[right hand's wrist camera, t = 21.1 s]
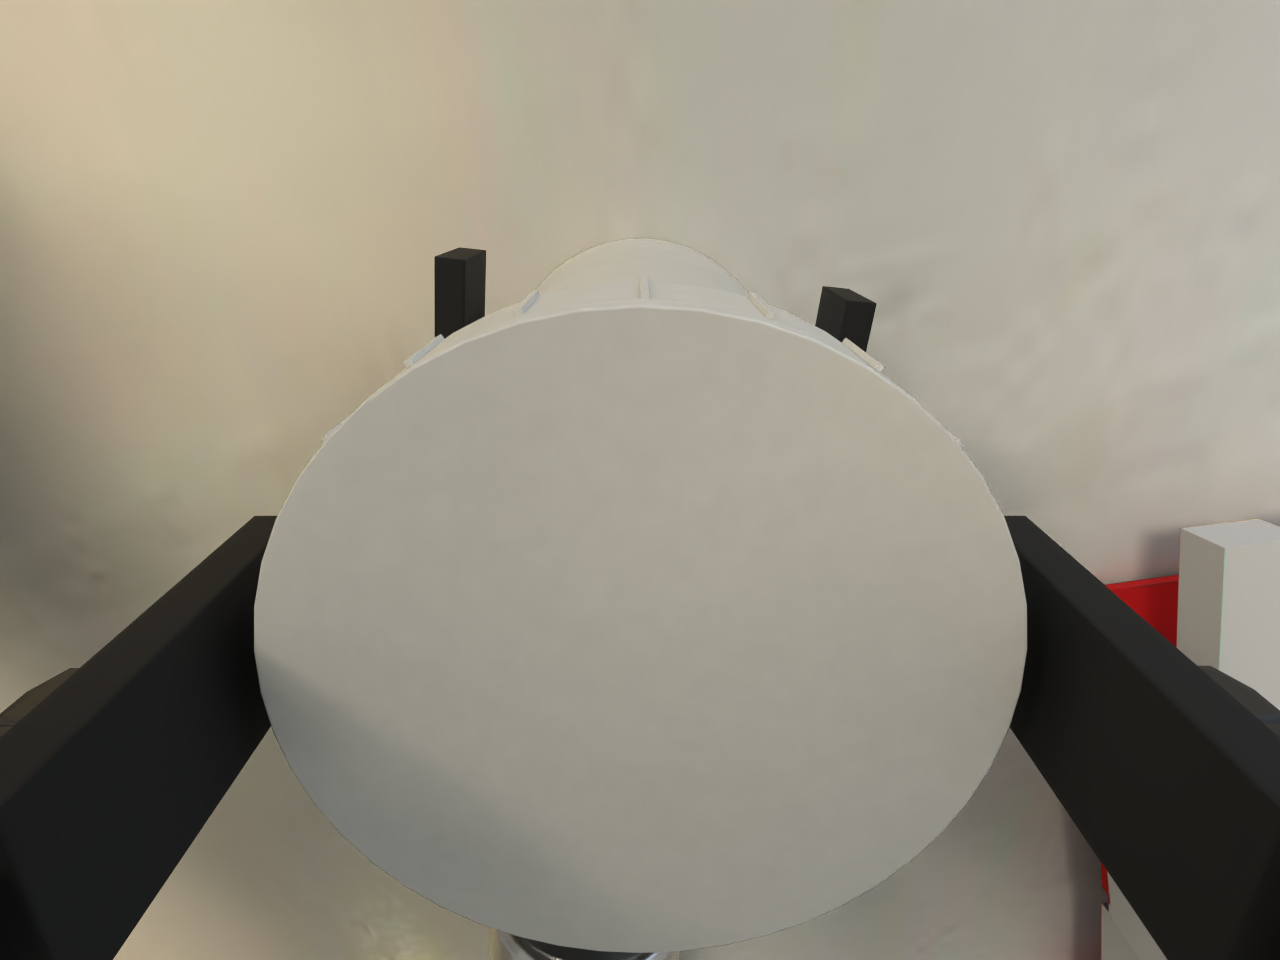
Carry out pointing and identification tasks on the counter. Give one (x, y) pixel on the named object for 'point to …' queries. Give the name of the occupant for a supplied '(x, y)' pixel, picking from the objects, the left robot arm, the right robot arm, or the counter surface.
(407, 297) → the counter surface
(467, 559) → the lid
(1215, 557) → the toy
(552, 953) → the left robot arm
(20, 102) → the counter surface
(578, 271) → the jar
